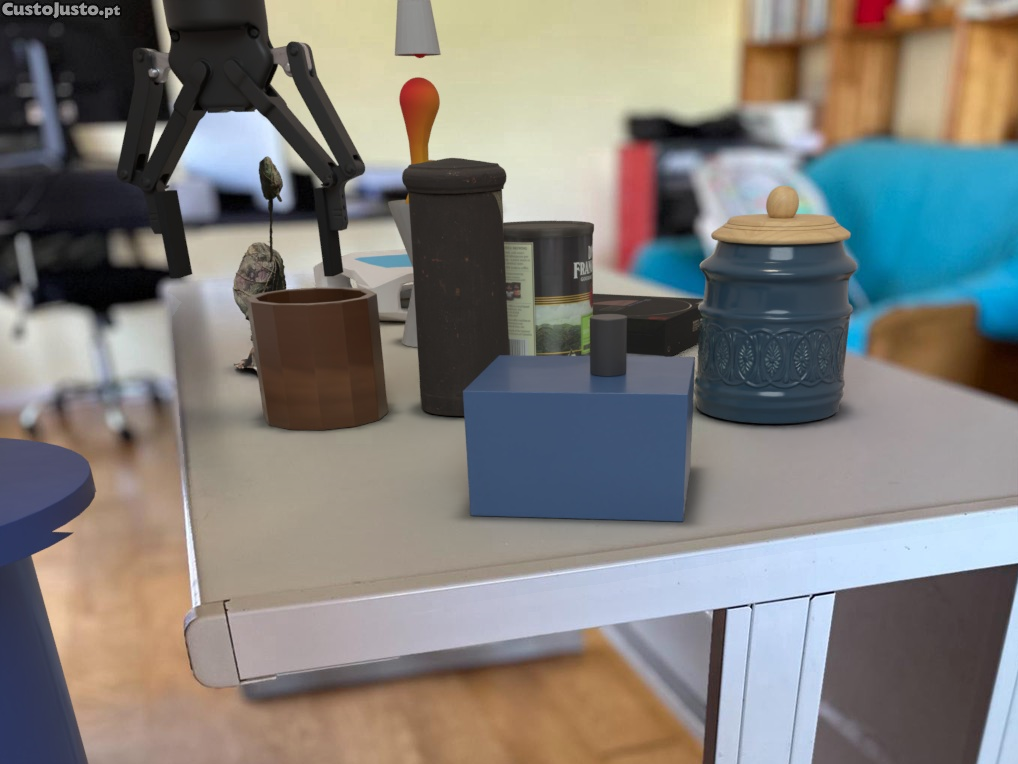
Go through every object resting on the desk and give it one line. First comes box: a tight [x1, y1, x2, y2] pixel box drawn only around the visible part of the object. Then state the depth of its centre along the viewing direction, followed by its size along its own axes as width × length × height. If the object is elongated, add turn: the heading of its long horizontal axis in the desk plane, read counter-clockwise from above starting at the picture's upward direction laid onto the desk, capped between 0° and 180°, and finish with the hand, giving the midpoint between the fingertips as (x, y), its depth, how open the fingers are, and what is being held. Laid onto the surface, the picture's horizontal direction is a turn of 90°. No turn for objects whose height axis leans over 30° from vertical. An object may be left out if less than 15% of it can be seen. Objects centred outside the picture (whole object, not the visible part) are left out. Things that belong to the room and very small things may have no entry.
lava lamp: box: [387, 0, 442, 348], centre depth 121 cm, size 9×9×35 cm
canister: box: [694, 185, 859, 425], centre depth 92 cm, size 13×13×18 cm
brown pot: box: [246, 286, 389, 431], centre depth 95 cm, size 11×11×10 cm
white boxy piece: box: [312, 248, 414, 323], centre depth 153 cm, size 21×28×6 cm
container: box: [401, 157, 510, 417], centre depth 94 cm, size 9×9×20 cm
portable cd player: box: [593, 293, 704, 357], centre depth 126 cm, size 16×17×4 cm
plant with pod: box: [232, 156, 287, 372], centre depth 112 cm, size 8×11×20 cm
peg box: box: [463, 314, 696, 523], centre depth 73 cm, size 14×12×12 cm
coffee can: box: [503, 220, 595, 356], centre depth 106 cm, size 10×10×14 cm
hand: (257, 276), depth 92 cm, fingers open, 13 cm apart
